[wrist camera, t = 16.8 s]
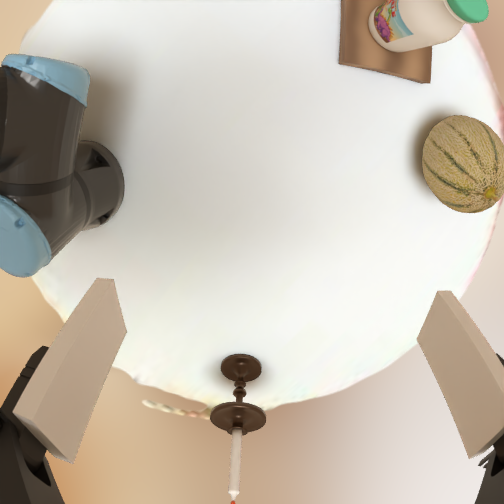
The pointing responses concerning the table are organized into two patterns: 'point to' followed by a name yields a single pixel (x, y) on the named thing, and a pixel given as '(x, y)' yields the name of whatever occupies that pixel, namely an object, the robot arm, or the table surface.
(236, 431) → the candlestick
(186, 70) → the table surface
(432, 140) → the cantaloupe
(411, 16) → the milk bottle
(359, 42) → the block
